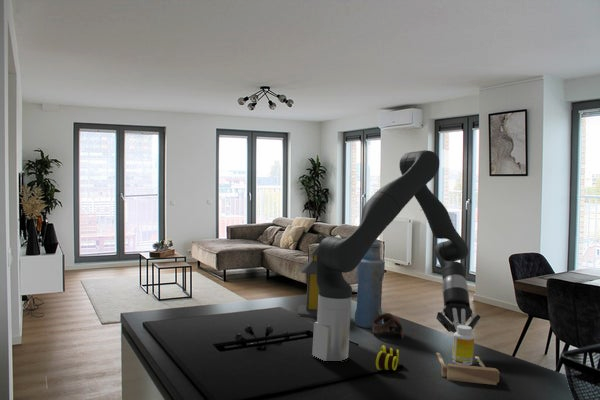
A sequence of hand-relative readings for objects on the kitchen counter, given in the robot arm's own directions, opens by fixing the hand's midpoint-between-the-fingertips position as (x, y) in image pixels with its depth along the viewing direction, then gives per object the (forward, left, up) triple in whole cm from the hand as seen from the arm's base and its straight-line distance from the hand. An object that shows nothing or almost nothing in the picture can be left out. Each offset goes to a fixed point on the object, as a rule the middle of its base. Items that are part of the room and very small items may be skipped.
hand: (460, 344), depth 146 cm
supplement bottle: (-2, -2, -5) cm, 6 cm away
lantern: (-3, +61, -5) cm, 62 cm away
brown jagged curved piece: (0, +27, -5) cm, 28 cm away
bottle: (+2, +39, -5) cm, 40 cm away
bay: (-5, -5, -4) cm, 8 cm away
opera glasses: (-24, +6, -5) cm, 25 cm away
